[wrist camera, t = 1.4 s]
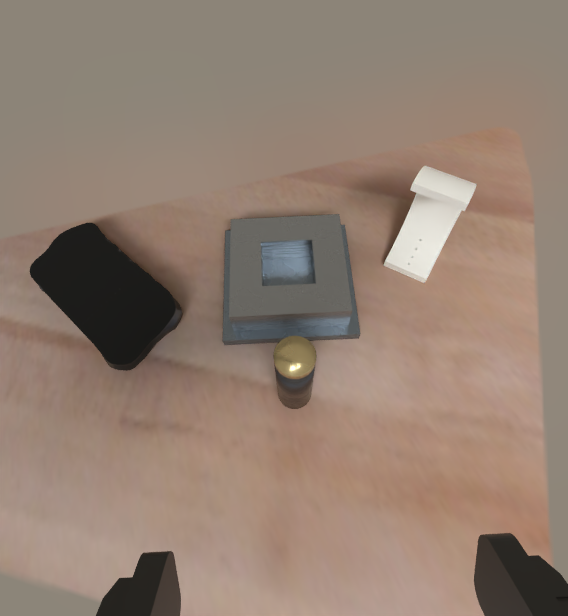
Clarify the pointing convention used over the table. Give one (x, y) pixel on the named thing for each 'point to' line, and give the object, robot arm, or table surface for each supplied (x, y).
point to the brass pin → (294, 370)
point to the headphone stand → (428, 221)
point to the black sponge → (106, 295)
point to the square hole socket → (288, 280)
